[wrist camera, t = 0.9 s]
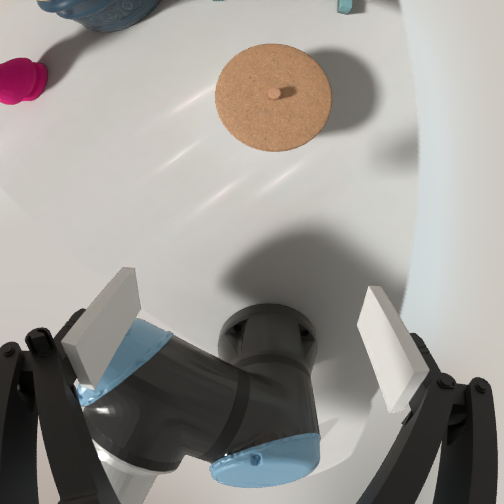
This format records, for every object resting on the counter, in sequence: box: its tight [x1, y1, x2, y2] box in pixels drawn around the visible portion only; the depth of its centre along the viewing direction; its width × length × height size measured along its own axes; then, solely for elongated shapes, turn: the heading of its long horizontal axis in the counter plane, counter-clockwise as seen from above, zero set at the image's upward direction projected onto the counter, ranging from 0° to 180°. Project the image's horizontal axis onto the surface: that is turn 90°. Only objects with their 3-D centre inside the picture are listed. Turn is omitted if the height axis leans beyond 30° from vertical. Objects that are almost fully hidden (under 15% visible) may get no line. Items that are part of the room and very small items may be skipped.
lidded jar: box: [215, 44, 332, 152], centre depth 26 cm, size 11×11×9 cm
